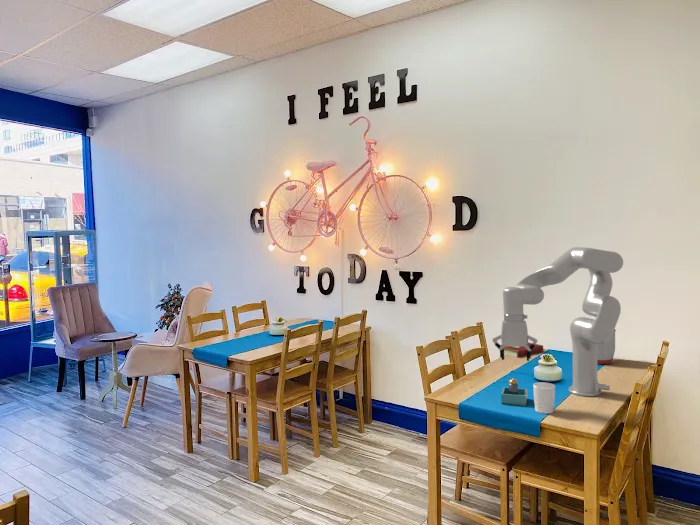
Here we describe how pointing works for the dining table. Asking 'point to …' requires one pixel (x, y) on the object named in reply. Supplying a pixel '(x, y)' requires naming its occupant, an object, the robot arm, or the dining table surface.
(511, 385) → the cell
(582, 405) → the dining table surface
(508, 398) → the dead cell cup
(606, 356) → the citrus juicer
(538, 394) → the white cup
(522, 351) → the hardcover book
